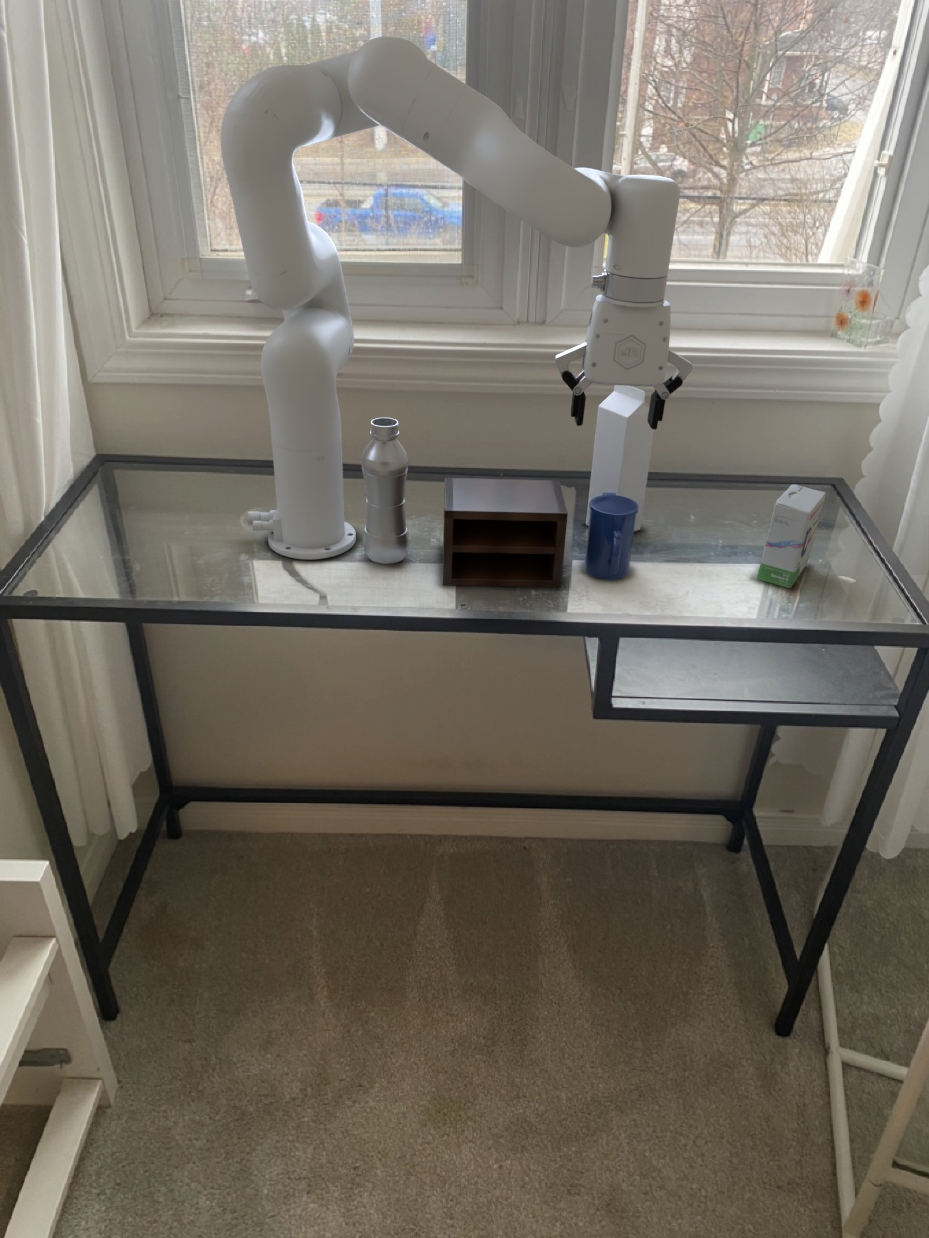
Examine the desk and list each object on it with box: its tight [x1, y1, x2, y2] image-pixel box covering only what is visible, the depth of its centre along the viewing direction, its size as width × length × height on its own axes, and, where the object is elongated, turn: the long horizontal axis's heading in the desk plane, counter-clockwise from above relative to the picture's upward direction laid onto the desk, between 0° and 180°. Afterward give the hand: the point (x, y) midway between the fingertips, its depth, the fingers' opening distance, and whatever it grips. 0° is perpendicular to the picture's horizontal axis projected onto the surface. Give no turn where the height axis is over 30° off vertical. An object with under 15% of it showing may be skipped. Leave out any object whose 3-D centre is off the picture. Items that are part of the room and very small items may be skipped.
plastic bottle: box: [360, 417, 410, 565], centre depth 131 cm, size 6×7×20 cm
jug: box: [583, 492, 639, 581], centre depth 132 cm, size 7×10×10 cm, turn 1°
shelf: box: [442, 477, 569, 588], centre depth 132 cm, size 16×11×11 cm
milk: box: [585, 385, 655, 532], centre depth 142 cm, size 6×6×22 cm
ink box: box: [756, 483, 827, 589], centre depth 133 cm, size 9×5×12 cm, turn 148°
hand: (615, 424), depth 125 cm, fingers open, 9 cm apart
